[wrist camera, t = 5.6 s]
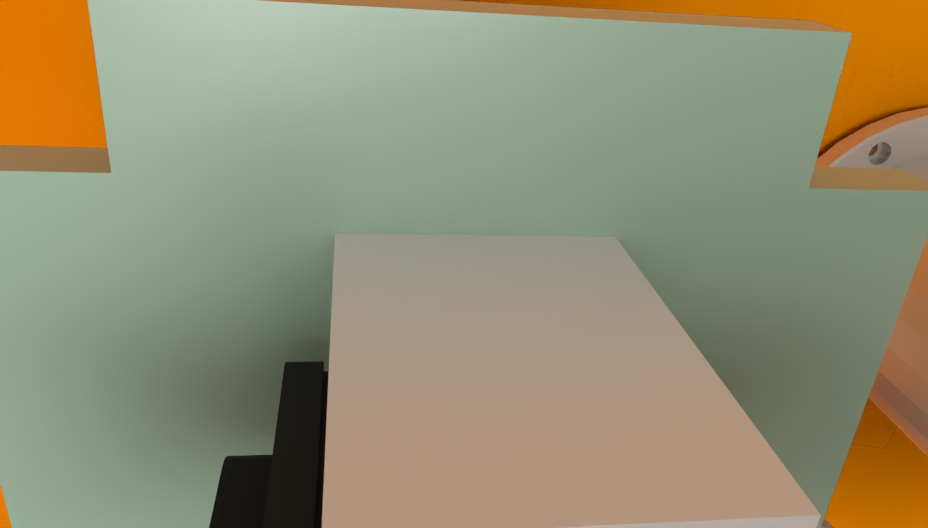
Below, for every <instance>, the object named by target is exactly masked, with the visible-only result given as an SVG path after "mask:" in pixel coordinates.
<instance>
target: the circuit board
mask: <svg viewBox="0 0 928 528" xmlns="http://www.w3.org/2000/svg"><path fill="white" fill-rule="evenodd" d="M88 7H89V15H90V22H91V29H92V37H93V44H94V51H95V59H96V66H97V73H98V80H99V88H100V95H101V102H102V110H103V117H104V124H105V131H106V139H107V146H108V148H87V147H49V146H11V145H0V483H1V487H2V491H3V495H4V499H5V503H6V507H7V511H8V515H9V519H10V523H11V527H12V528H209V525H210V521H211V516H212V512H213V507H214V502H215V498H216V493H217V489H218V484H219V479H220V475H221V470H222V466H223V463H224V459H225V458H226V456H245V455H272V454H273V447H274V440H275V432H276V425H277V417H278V410H279V402H280V395H281V387H282V380H283V373H284V366H285V362H313V361H324V371H329V375H328V397H327V419H326V442H325V464H324V486H323V508H322V528H821V525H822V523H823V520H824V517H825V514H826V512H827V509H828V506H829V503H830V501H831V498H832V495H833V493H834V490H835V487H836V484H837V482H838V479H839V476H840V474H841V471H842V468H843V465H844V463H845V460H846V457H847V454H848V452H849V449H850V446H851V444H852V441H853V438H854V435H855V433H856V430H857V427H858V424H859V422H860V419H861V416H862V414H863V411H864V408H865V405H866V403H867V400H868V397H869V395H870V392H871V389H872V386H873V384H874V381H875V378H876V375H877V373H878V370H879V367H880V365H881V362H882V359H883V356H884V354H885V351H886V348H887V345H888V343H889V340H890V337H891V335H892V332H893V329H894V326H895V324H896V321H897V318H898V316H899V313H900V310H901V307H902V305H903V302H904V299H905V296H906V294H907V291H908V288H909V286H910V283H911V280H912V277H913V275H914V272H915V269H916V266H917V264H918V261H919V258H920V256H921V253H922V250H923V247H924V245H925V242H926V239H927V237H928V183H927V182H925V181H923V180H922V179H920V178H918V177H916V176H914V175H912V174H910V173H908V172H906V171H904V170H903V169H881V168H843V167H815V164H816V160H817V157H818V153H819V150H820V146H821V143H822V139H823V136H824V132H825V129H826V125H827V122H828V118H829V115H830V111H831V108H832V104H833V101H834V97H835V93H836V90H837V86H838V83H839V79H840V76H841V72H842V69H843V65H844V62H845V58H846V55H847V51H848V48H849V44H850V41H851V37H852V34H853V33H851V32H848V31H844V30H841V29H838V28H835V27H831V26H828V25H825V24H822V23H818V22H815V21H808V20H791V19H773V18H755V17H738V16H720V15H703V14H685V13H668V12H650V11H632V10H615V9H597V8H580V7H562V6H545V5H527V4H509V3H492V2H474V1H457V0H88Z"/></svg>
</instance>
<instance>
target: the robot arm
mask: <svg viewBox="0 0 928 528" xmlns="http://www.w3.org/2000/svg"><path fill="white" fill-rule="evenodd" d="M815 167H843V168H881V169H903V170H904V171H906V172H908V173H910V174H912V175H914V176H916V177H918V178H920V179H922V180H923V181H925V182H927V183H928V107H926V108H921V109H916V110H911V111H906V112H901V113H897V114H895V115H892V116H889V117H887V118H884V119H882V120H879V121H876V122H874V123H871V124H869V125H867V126H865V127H863V128H861V129H860V130H858V131H856V132H855V133H853V134H851V135H849V136H848V137H846V138H844V139H842V140H841V141H839V142H838V143H836V144H835V145H834V146H833V147H831V148H830V149H829V150H828V151H826V152H825V153H824V154H823V155H821V156H820V157H819V158H818V159H817V160H816V164H815ZM328 375H329V371H324V361H313V362H285V366H284V373H283V380H282V387H281V395H280V402H279V410H278V417H277V425H276V432H275V440H274V447H273V454H272V455H245V456H226V458H225V459H224V463H223V466H222V470H221V475H220V479H219V484H218V489H217V493H216V498H215V502H214V507H213V512H212V516H211V521H210V525H209V528H322V508H323V486H324V464H325V442H326V419H327V397H328ZM868 398H869V399H870V400H871V401H872V402H873V403H874V404H875V405H876V406H877V407H878V408H879V409H880V410H881V411H882V412H883V413H884V414H885V415H886V416H887V417H888V418H889V419H890V420H891V421H892V422H893V423H894V424H895V425H896V426H897V427H898V428H899V429H900V430H901V431H902V432H903V433H904V434H905V435H906V436H907V437H908V438H909V439H910V440H911V441H912V442H913V443H914V444H915V445H916V446H917V447H918V448H919V449H920V450H921V451H922V452H923V453H924V454H925V455H926V456H927V457H928V237H927V239H926V242H925V245H924V247H923V250H922V253H921V256H920V258H919V261H918V264H917V266H916V269H915V272H914V275H913V277H912V280H911V283H910V286H909V288H908V291H907V294H906V296H905V299H904V302H903V305H902V307H901V310H900V313H899V316H898V318H897V321H896V324H895V326H894V329H893V332H892V335H891V337H890V340H889V343H888V345H887V348H886V351H885V354H884V356H883V359H882V362H881V365H880V367H879V370H878V373H877V375H876V378H875V381H874V384H873V386H872V389H871V392H870V395H869V397H868Z"/></svg>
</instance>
